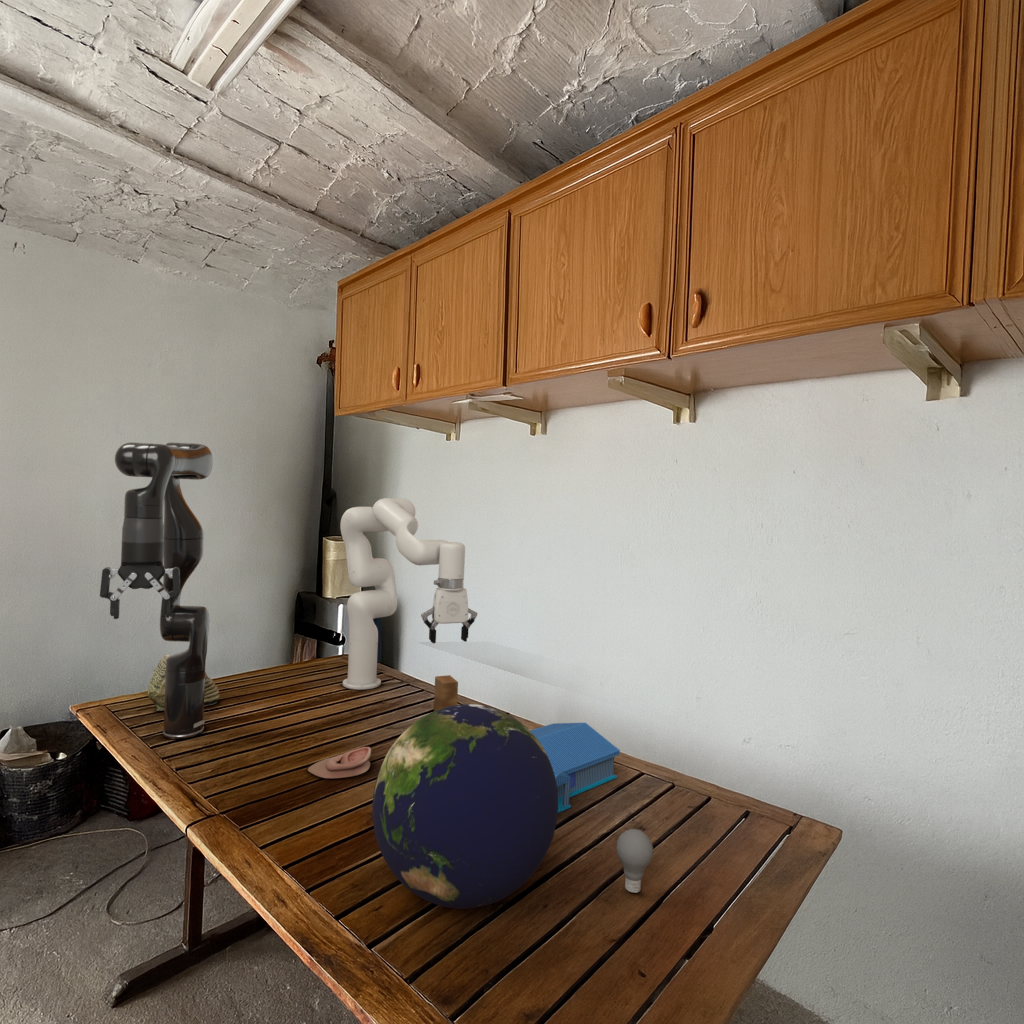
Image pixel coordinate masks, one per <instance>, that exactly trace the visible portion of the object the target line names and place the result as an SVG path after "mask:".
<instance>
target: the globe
mask: <svg viewBox="0 0 1024 1024" xmlns="http://www.w3.org/2000/svg"><path fill="white" fill-rule="evenodd" d="M530 730H531V729H529V728H527V726H525V725H524V724H523V723H522V722H520V721H519V720H518V719H516V718H515V717H514V716H512V715H510V714H509V713H506V712H504V711H502V710H499V709H497V708H494V707H491V706H487V705H482V704H478V703H477V704H475V703H468V704H467V703H466V704H465V703H464V704H457V705H455V706H449V707H445V708H442V709H439V710H436V711H434V710H433V711H432V712H429V713H428V714H425V715H424V716H422V717H420V719H417V720H416V721H415V722H413V723H412V724H411V725H410V726H408V727H407V728H406V729H405V730H404V731H403V732H402V734H401V735H400V736H398V737H397V738H396V740H395V741H394V742H393V744H392V745H391V747H390V748H389V749H388V751H387V753H386V755H385V757H384V760H383V761H382V763H381V765H380V768H379V771H378V774H377V776H376V781H375V784H374V789H373V796H372V804H371V805H372V807H371V809H372V824H373V829H374V836H375V839H376V843H377V846H378V849H379V852H380V853H381V856H382V858H383V860H384V861H385V863H386V865H387V866H388V868H389V871H391V873H392V874H393V875H394V876H395V878H396V879H397V880H398V881H399V882H400V883H401V884H402V885H403V886H404V887H405V888H406V889H407V890H409V891H410V892H411V893H413V895H415V896H417V897H419V898H421V899H422V900H425V901H426V902H429V903H431V904H434V905H437V906H440V907H444V908H448V909H457V910H465V909H466V910H467V909H469V910H470V909H477V908H481V907H486V906H489V905H492V904H494V903H497V902H499V901H502V900H504V899H505V898H508V896H510V895H512V894H513V893H515V892H516V891H518V890H519V889H520V888H521V887H523V885H524V884H526V883H527V882H528V880H530V879H531V878H532V877H533V875H534V874H535V873H536V871H537V870H538V869H539V867H540V866H541V865H542V862H543V861H544V859H545V857H546V855H547V854H548V851H549V849H550V847H551V844H552V842H553V839H554V836H555V832H556V829H557V828H556V827H557V822H558V816H559V813H558V791H557V784H556V779H555V775H554V772H553V768H552V765H551V763H550V761H549V758H548V756H547V753H546V752H545V750H544V748H543V747H542V745H541V743H540V742H539V741H538V739H537V738H536V737H535V736H534V735H533V734H532V733H531V732H530Z"/></svg>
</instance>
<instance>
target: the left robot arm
mask: <svg viewBox="0 0 1024 1024" xmlns="http://www.w3.org/2000/svg"><path fill="white" fill-rule="evenodd" d="M114 464H115V466H116V468H117V470H118V471H119V472H120V473H121V474H123V476H125V477H126V476H127V477H132V478H133V477H134V478H151V480H150V482H149V483H148V484H147V485H146V486H144V487H136V488H130V489H128V490H126V492H125V494H124V507H123V508H124V509H123V523H122V528H121V554H120V556H121V557H120V565H119V568H114V567H113V568H112V567H109V566H106V567H105V568H103V569H102V571H101V581H100V589H99V597H100V598H102V599H107V600H109V606H110V607H109V615H110V616H111V617H113V620H118V619H120V603H121V601H120V599H119V597H120V596H121V595H122V594H123V593H124V592H125V591H126V590H127V589H128V588H129V589H132V590H138V589H144V590H150V589H152V588H154V590H155V591H156V592H157V593H158V594H160V596H161V605H160V613H159V614H160V615H159V633H160V637H161V638H162V640H163V641H165V642H174V643H175V642H178V643H179V642H181V643H189V644H188V648H187V649H186V650H183V651H180V652H176V653H174V654H170V655H171V656H170V657H168V658H167V660H166V674H165V705H164V710H163V730H162V737H164V738H166V739H169V740H185V739H190V738H191V739H192V738H194V737H197V736H199V735H202V734H203V732H204V730H205V729H204V727H205V725H204V724H205V706H204V693H205V672H206V664H207V663H206V660H207V653H208V641H209V633H210V631H209V630H210V613H209V610H208V608H207V607H205V606H202V605H181V596H182V591H183V589H184V586H185V584H186V582H187V581H188V579H189V578H190V577H191V575H192V574H193V573H194V571H195V570H196V568H197V567H198V565H200V562H201V561H202V559H203V556H204V529H203V527H202V525H201V523H200V520H199V519H198V518H197V516H196V515H195V514H194V512H193V511H192V509H191V508H190V506H189V505H188V503H187V501H186V500H185V498H184V495H183V492H182V488H181V483H180V480H192V481H193V480H194V481H195V480H197V481H199V480H204V479H207V478H208V477H209V476H210V475H211V473H212V469H213V453H212V451H211V450H210V448H209V446H207V445H206V444H202V443H192V442H174V441H173V442H166V443H165V444H163V443H150V442H149V443H148V442H125V443H122V444H121V445H120V446H119V447H118V448H117V450H116V452H115V454H114ZM116 575H118V576H119V578H120V579H121V580H122V581H123V582H122V583H121V584H120V585H119V586H118V587H117V589H116V590H115V591H114V592H113V591H110V586H111V585H110V584H111V580H112V579H114V578H115V577H116ZM162 578H163V579H162ZM161 579H162V580H163V581H161Z"/></svg>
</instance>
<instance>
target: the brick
mask: <svg viewBox="0 0 1024 1024" xmlns="http://www.w3.org/2000/svg"><path fill="white" fill-rule="evenodd" d="M458 693H459V681H458V680H457V679H455V678H454V677H453V676H451V675H450V674H449V675H437V676H434V696H433V712H434V711H436V710H439V709H442V708H445V707H449V706H455V705H458V696H459V695H458Z"/></svg>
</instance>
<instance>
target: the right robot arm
mask: <svg viewBox="0 0 1024 1024" xmlns="http://www.w3.org/2000/svg"><path fill="white" fill-rule="evenodd" d="M339 524H340V526H339V527H340V534H341V538H342V539H343V545H344V547H345V548H344V549H345V557H346V565H347V575H348V580H349V583H350V585H352V586H353V587H355V588H368V587H374V588H375V589H370V590H361V591H357V592H354V593H353V594H351V596H349V598H348V599H347V602H346V610H347V615H348V628H349V629H348V655H347V656H348V657H347V660H348V661H347V678H345V679H343V681H342V687H344V688H345V689H349V690H357V691H361V690H362V691H363V690H371V689H375V688H378V687H380V686H381V685H382V681H381V678H379V677H377V675H378V669H377V668H378V652H379V651H378V650H379V649H378V648H379V630H378V627H377V625H376V624H375V621H374V619H380V618H385V617H386V618H387V617H390V616H392V615H393V614H394V613H395V612H396V611H397V608H398V594H397V586H396V577H395V570H394V567H393V565H392V563H391V562H390V561H389V560H388V559H387V558H382V557H380V558H379V557H377V558H376V557H375V558H374V557H373V553H372V545H371V542H370V541H369V538H368V537H367V536H366V535H365V534H364V533H366V532H367V533H368V532H370V533H378V532H381V533H382V532H383V533H384V532H390V533H391V534H392V535H393V536H394V537H395V545H396V548H397V550H398V552H399V553H400V555H401V556H403V557H404V558H405V559H406V560H407V561H408V562H410V563H412V564H413V565H415V566H432V565H434V566H435V565H438V577H437V579H436V580H435V579H434V580H433V585H434V586H437V587H435V591H434V596H433V601H432V607H431V608H429V609H427V610H426V611H423V612H422V613H421V614H420V617H421V619H422V622H423V624H425V625H426V627H427V628H428V639H429V640H430V643H432V644H436V642H437V629H436V628H437V626H438V625H439V624H440V625H441V624H443V625H444V624H462V626H461V628H460V630H461V631H460V635H461V636H460V640H461V641H462V642H466V643H467V641H468V638H469V629H470V628H471V626H472V625H473V624H474V623H475V620H476V619H477V617H478V612H477V611H474V610H473V609H471V608H469V599H468V591H467V588H464V586H465V585H464V584H465V562H466V561H465V559H466V546H465V544H463V543H462V542H457V541H448V540H445V539H419V538H417V537H416V536H415V534H416V533H417V532H418V529H419V522H418V519H417V518H416V507H415V505H414V503H413V502H411V500H409V499H407V498H400V497H399V498H397V497H395V498H393V497H384V498H380V499H378V500H376V502H375V503H374V504H373V505H372V506H353V507H351V508H348V509H346V510H345V512H343V514H342V516H341V519H340V523H339ZM469 615H470V617H469ZM430 616H431V621H429V619H428V617H430Z"/></svg>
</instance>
